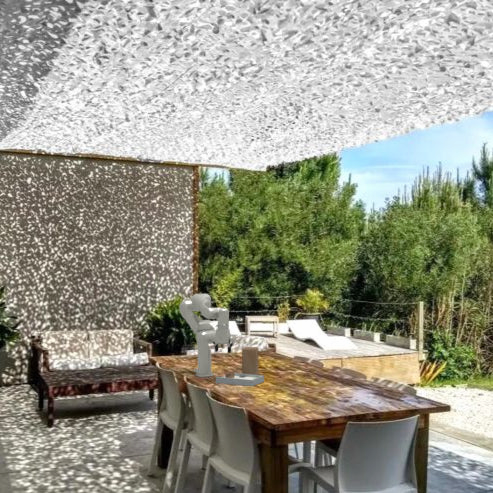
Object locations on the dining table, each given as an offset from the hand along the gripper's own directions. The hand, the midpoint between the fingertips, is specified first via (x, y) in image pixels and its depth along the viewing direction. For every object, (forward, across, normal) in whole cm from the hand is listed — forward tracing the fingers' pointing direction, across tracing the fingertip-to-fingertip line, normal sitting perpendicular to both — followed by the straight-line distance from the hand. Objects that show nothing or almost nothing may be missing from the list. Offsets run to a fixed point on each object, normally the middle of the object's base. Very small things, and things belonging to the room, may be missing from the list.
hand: (222, 352), depth 428 cm
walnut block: (+16, +6, -1) cm, 18 cm away
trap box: (+19, +14, -1) cm, 23 cm away
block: (+19, +10, +22) cm, 31 cm away
